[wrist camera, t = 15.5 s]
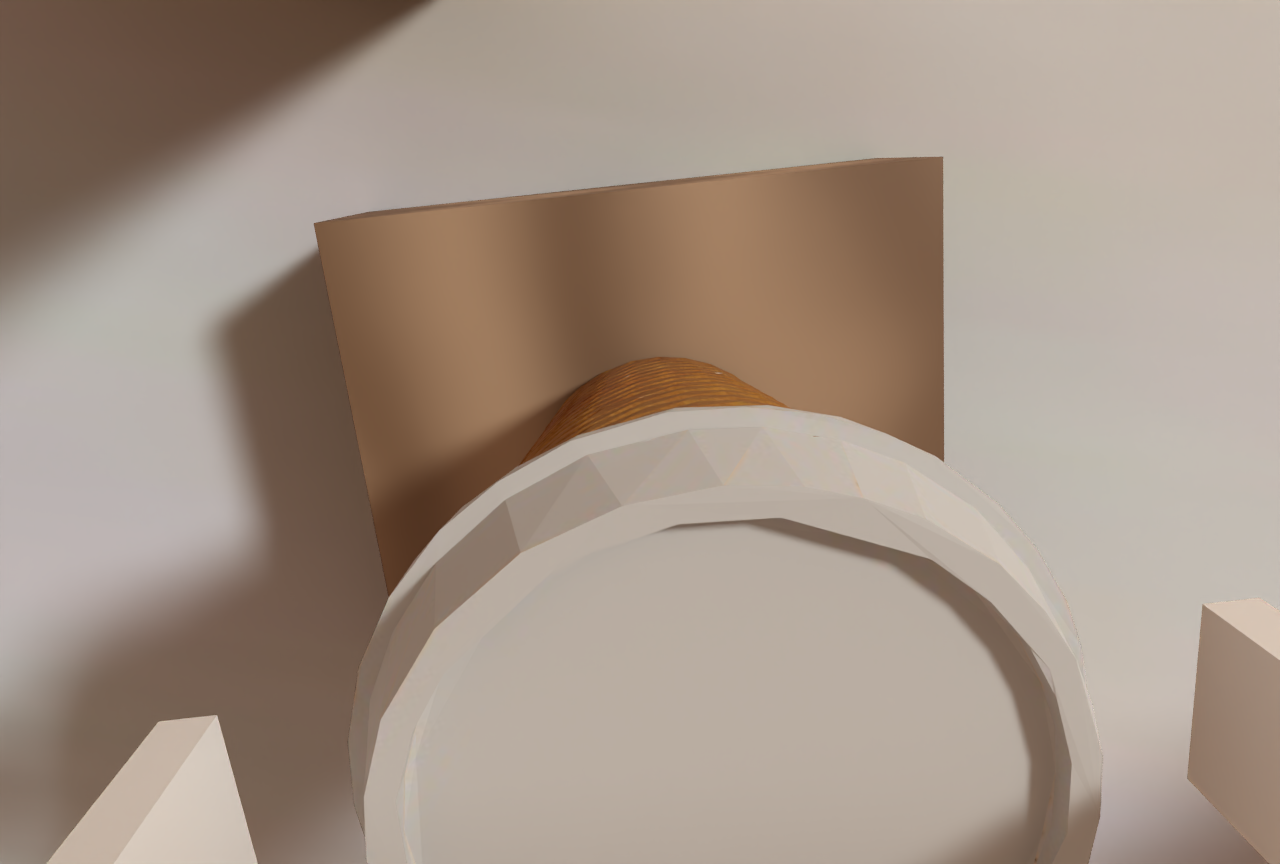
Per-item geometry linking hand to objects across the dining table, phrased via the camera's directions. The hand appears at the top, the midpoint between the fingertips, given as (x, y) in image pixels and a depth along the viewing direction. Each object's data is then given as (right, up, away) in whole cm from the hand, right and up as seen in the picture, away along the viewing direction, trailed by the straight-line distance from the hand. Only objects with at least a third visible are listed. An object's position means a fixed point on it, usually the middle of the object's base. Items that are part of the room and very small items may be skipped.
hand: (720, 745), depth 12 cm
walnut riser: (-1, +4, +15) cm, 15 cm away
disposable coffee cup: (-1, +3, +10) cm, 10 cm away
